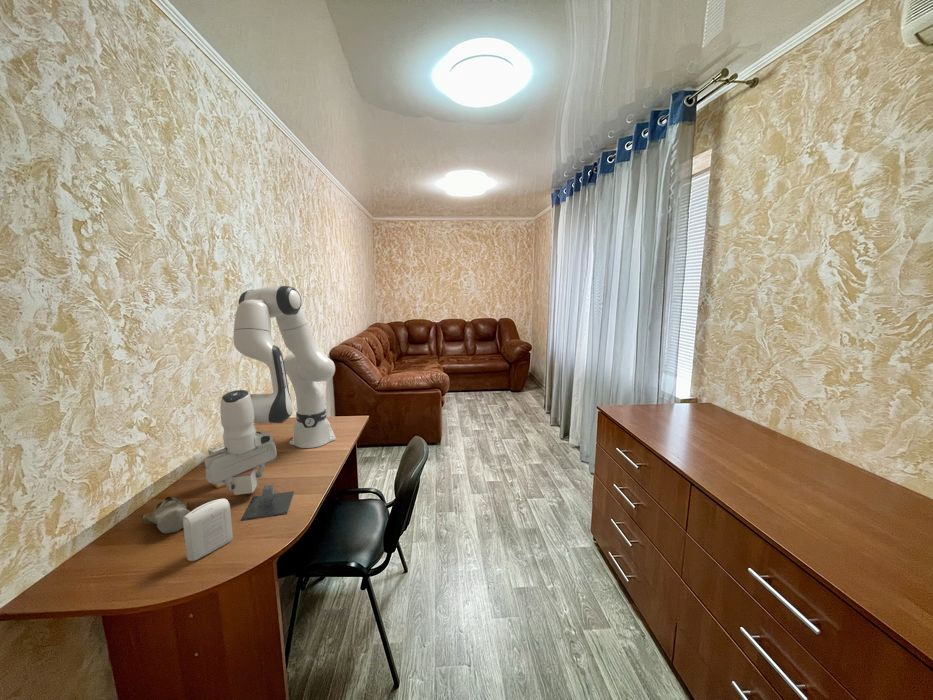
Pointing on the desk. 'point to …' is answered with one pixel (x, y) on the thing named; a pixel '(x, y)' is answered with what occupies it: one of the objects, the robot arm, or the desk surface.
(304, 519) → the desk surface
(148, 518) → the ceramic sculpture
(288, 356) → the robot arm
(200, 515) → the photo printer
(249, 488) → the pink and white block
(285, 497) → the grey square base plate
